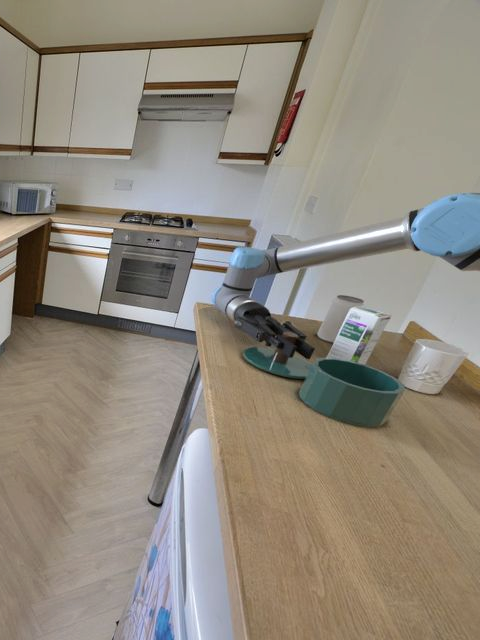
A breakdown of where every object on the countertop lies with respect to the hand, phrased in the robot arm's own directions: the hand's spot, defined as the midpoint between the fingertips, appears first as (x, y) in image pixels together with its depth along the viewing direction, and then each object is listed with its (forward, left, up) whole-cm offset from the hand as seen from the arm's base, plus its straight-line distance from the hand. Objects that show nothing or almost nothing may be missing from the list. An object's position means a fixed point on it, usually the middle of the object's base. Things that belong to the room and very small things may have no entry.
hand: (301, 352), depth 90 cm
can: (-6, -35, -6) cm, 37 cm away
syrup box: (-9, -16, -6) cm, 20 cm away
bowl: (-9, +8, -6) cm, 13 cm away
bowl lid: (+3, -4, -6) cm, 8 cm away
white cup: (-22, -16, -6) cm, 28 cm away
